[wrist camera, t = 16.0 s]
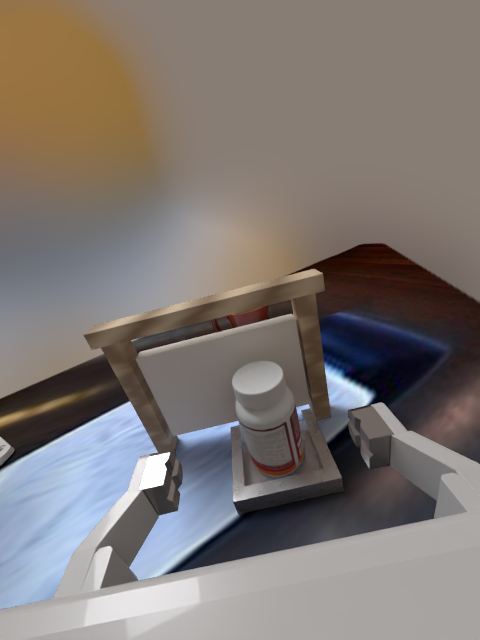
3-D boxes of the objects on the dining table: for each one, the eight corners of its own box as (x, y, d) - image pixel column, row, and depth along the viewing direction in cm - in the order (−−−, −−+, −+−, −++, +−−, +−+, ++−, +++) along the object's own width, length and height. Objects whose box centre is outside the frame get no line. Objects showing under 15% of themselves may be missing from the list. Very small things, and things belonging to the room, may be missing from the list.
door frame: (153, 458, 32) (83, 335, 25) (157, 442, 35) (94, 325, 27) (338, 414, 32) (322, 273, 24) (331, 401, 34) (314, 268, 26)
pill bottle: (278, 423, 32) (260, 350, 28) (316, 452, 27) (302, 370, 23) (241, 454, 29) (215, 379, 25) (277, 493, 24) (252, 409, 20)
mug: (278, 336, 54) (269, 292, 50) (278, 358, 46) (268, 309, 42) (226, 343, 56) (213, 303, 52) (218, 366, 49) (202, 320, 45)
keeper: (238, 514, 24) (233, 502, 23) (234, 438, 32) (230, 427, 31) (343, 490, 24) (341, 477, 23) (312, 419, 32) (310, 408, 31)
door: (173, 436, 32) (135, 359, 27) (177, 417, 35) (144, 345, 30) (309, 403, 31) (295, 319, 26) (302, 387, 34) (288, 308, 29)
